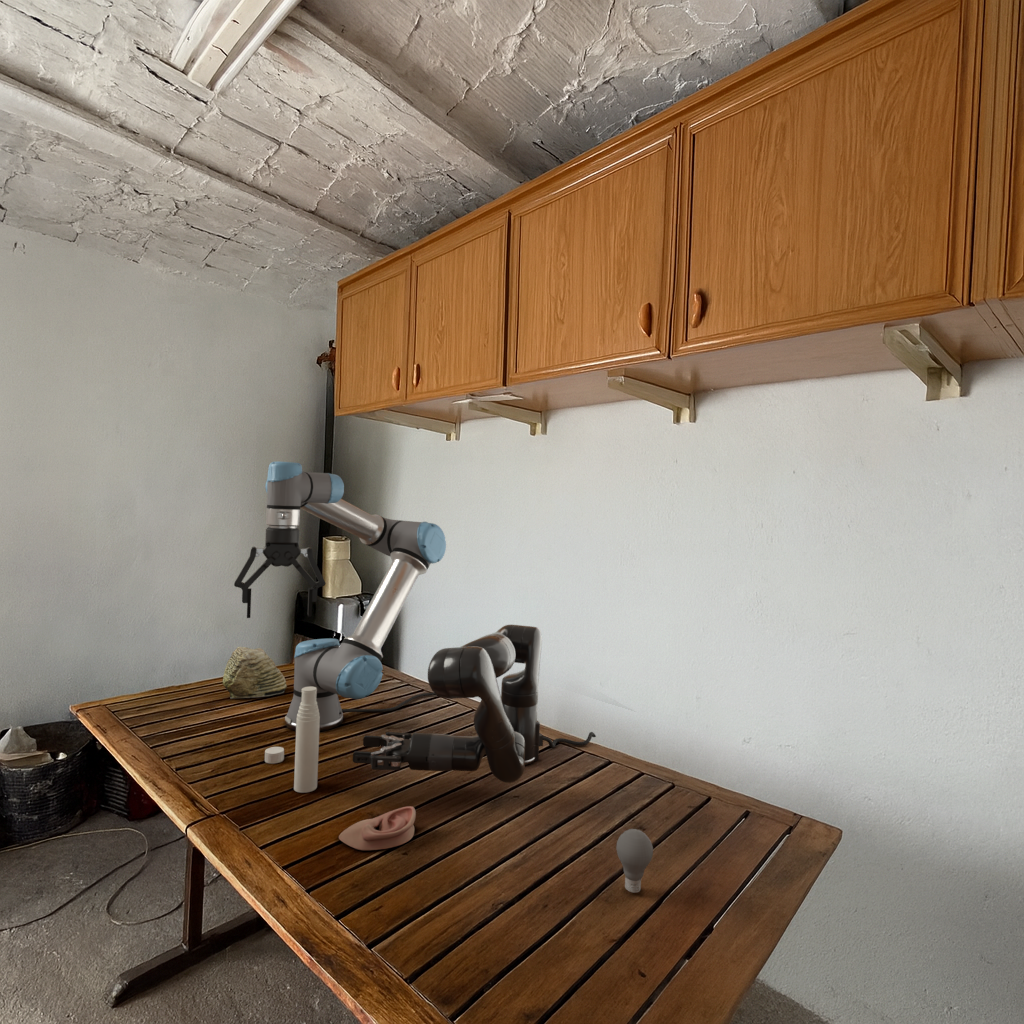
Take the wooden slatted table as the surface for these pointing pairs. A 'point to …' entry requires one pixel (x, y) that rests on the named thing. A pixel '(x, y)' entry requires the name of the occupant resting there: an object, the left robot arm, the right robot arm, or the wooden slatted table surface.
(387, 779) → the wooden slatted table surface
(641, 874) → the light bulb
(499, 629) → the right robot arm
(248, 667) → the fossil
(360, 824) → the anatomical model
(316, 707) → the bottle
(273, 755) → the cap
